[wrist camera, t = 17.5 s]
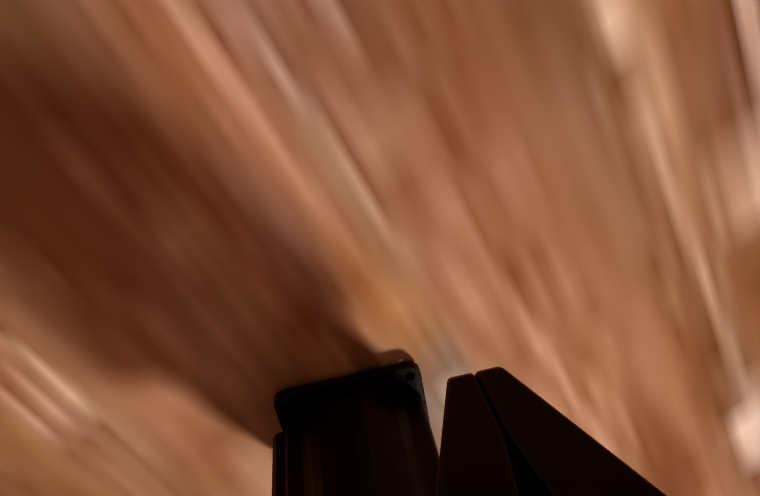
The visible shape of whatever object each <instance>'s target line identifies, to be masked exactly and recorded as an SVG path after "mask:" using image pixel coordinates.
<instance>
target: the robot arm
mask: <svg viewBox="0 0 760 496" xmlns="http://www.w3.org/2000/svg"><path fill="white" fill-rule="evenodd" d="M408 372H412V373H411V374H408V375H406V373H408ZM283 401H290V402H287V403H284V402H283ZM274 408H275V411H276V413H277V416H278V419H279V421H280V424H281V427H282V429H283V432H281V433H277V434H276V435H275V437H274V438H273V464H272V496H667V495H665V494H664V493H663V492H661V491H660V490H659V489H658V488H656V487H655V486H654V485H652V484H651V483H650V482H649V481H647V480H646V479H645V478H643V477H642V476H641V475H640V474H638V473H637V472H636V471H635V470H633V469H632V468H631V467H629V466H628V465H627V464H626V463H624V462H623V461H622V460H620V459H619V458H618V457H617V456H615V455H614V454H613V453H611V452H610V451H609V450H608V449H606V448H605V447H604V446H602V445H601V444H600V443H599V442H597V441H596V440H595V439H594V438H592V437H591V436H590V435H588V434H587V433H586V432H585V431H583V430H582V429H581V428H579V427H578V426H577V425H576V424H574V423H573V422H572V421H570V420H569V419H568V418H567V417H565V416H564V415H563V414H561V413H560V412H559V411H558V410H556V409H555V408H554V407H553V406H551V405H550V404H549V403H547V402H546V401H545V400H544V399H542V398H541V397H540V396H538V395H537V394H536V393H535V392H533V391H532V390H531V389H529V388H528V387H527V386H526V385H524V384H523V383H522V382H520V381H519V380H518V379H517V378H515V377H514V376H513V375H512V374H510V373H509V372H508V371H506V370H505V369H504V368H502V367H494V368H490V369H485V370H481V371H478V372H477V373H476V374H475V376H474V375H473V374H472V373H468V374H464V375H459V376H455V377H451V378H449V379H448V381H447V388H446V398H445V407H444V417H443V427H442V437H441V447H440V457H439V454H438V450H437V447H436V443H435V440H434V436H433V433H432V429H431V426H430V422H429V417H428V411H427V406H426V400H425V394H424V389H423V383H422V377H421V373H420V369H419V367H418V365H417V364H416V363H415V362H411V361H410V362H403V363H399V364H395V365H390V366H386V367H382V368H377V369H373V370H369V371H364V372H360V373H355V374H351V375H347V376H342V377H338V378H334V379H329V380H325V381H321V382H316V383H312V384H308V385H303V386H299V387H295V388H290V389H286V390H282V391H280V392H278V393H277V394H276V395H275V397H274Z"/></svg>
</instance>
